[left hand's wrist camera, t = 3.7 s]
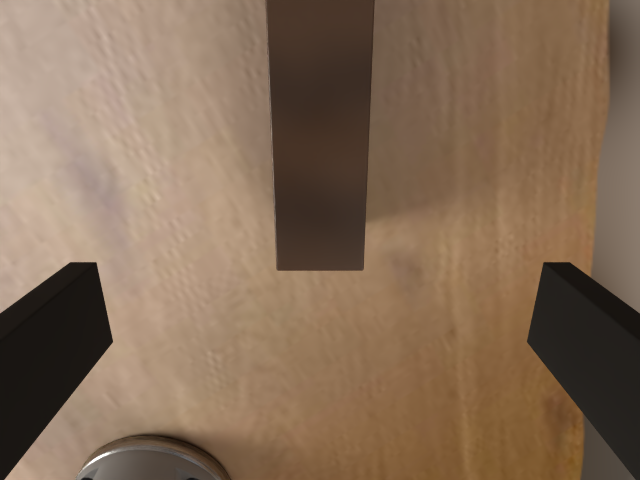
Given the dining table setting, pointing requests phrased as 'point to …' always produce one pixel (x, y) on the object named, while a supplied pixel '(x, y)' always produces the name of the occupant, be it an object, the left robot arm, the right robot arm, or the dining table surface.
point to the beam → (320, 130)
